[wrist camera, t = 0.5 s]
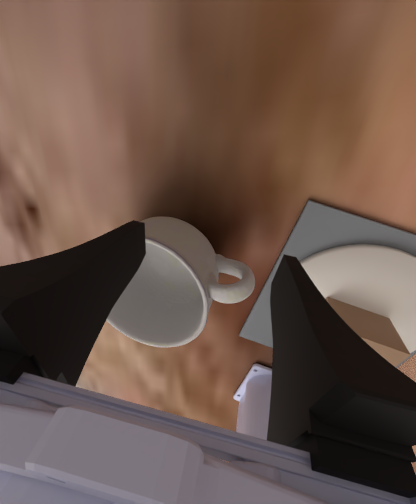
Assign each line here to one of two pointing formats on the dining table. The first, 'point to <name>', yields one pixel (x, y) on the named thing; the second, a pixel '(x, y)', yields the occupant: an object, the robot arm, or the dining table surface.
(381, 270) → the lid
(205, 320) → the teacup
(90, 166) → the dining table surface
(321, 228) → the mat
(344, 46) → the dining table surface
